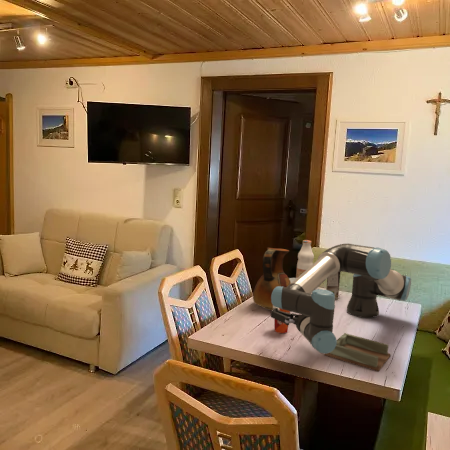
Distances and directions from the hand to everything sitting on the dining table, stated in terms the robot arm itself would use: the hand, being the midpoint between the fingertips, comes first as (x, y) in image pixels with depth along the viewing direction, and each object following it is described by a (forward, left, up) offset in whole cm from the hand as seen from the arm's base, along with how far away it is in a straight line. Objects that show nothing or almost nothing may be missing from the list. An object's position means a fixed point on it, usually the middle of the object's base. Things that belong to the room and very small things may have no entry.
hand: (290, 307), depth 174 cm
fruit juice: (-33, -72, -14) cm, 81 cm away
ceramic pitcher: (-5, -39, -14) cm, 42 cm away
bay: (-22, +16, -14) cm, 31 cm away
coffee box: (-43, -55, -14) cm, 71 cm away
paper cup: (0, -10, -14) cm, 17 cm away
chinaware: (-25, -59, -14) cm, 66 cm away
